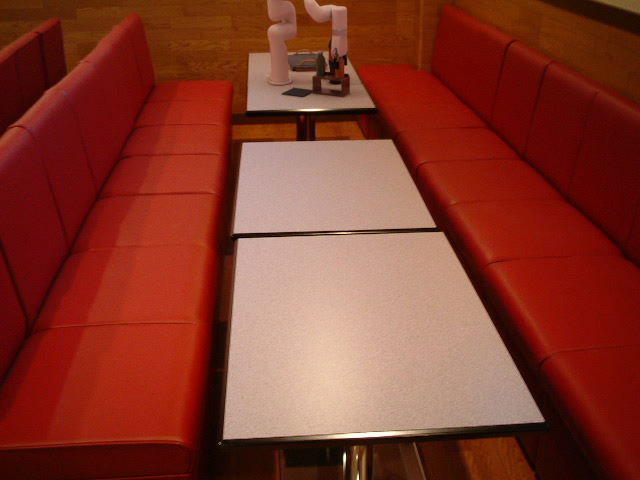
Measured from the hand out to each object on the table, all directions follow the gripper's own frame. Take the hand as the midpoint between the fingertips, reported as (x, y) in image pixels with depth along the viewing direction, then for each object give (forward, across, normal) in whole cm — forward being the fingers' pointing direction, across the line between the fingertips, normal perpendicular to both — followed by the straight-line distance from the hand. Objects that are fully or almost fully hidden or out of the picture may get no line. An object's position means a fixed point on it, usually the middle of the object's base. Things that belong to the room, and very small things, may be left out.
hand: (340, 67), depth 326 cm
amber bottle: (+5, 0, 0) cm, 5 cm away
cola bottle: (+14, -21, -13) cm, 29 cm away
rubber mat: (+14, +6, -22) cm, 27 cm away
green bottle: (+5, 0, -11) cm, 12 cm away
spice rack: (+14, 0, -6) cm, 15 cm away
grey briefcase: (+14, -54, -50) cm, 75 cm away
